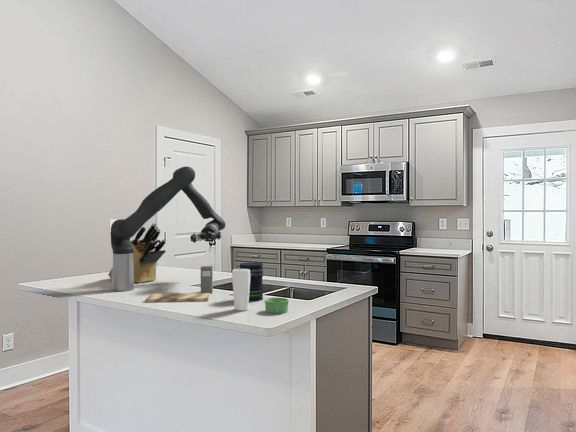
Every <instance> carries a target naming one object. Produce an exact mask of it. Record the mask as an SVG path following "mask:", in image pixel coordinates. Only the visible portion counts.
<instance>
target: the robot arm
mask: <svg viewBox="0 0 576 432" xmlns="http://www.w3.org/2000/svg"><path fill="white" fill-rule="evenodd" d="M195 171H196V170H194V168H193V167H191V166H181V167H180V168H177V169H175V170H174V172H173V174H172V178H171V179H170V180H168V181H167V182H165V183H163V184H161V185H160V186H158V187H157V188H155V189H154V190H153V191H152V192H151V193H149V194H148V195H147V196H145V198H144V199H143V200H142V201H141V203H140V205H139V206H138V208H137V209H136V210H135V211H134V212H133V213H132V214H130V215H129V216H127V217H126V218H125V219H124V218H123V219H122V218H121V219H116V220H115V221H113V223H112V224H111V226H110V245H111V249H112V267H113V270H112V279H111V291H112V292H113V291H115V292H125V291H133V290H134V287H135V285H134V284H135V282H134V249H133V247H132V245H131V243H130V241H131V238H133V237H134V236H135V235H137V233H138V232H139V230H140V229H141V228H142V227H144V225H145V223H147V222H148V221H149V220H151V218H153V217H154V216H155V215H156V214H157V213H158V212H160V211H161V210H163V208H164V207H166V206H167V205H168V204H169V202H170V201H171V200H173V199H174V198H175V196H176V195H177V194H178V193H180V192H181V191H182V192H183V193H184V194H185V196H186V197H187V198H188V199H189V200H190V201H191V203H192V205H193V206H194V207H195V208H196V211H197V212H198V213H199V214H200V216H201V218H202V219H203V220H209V219H212V220H210V221H208V222H207V223H206V224H205V226H204V227H203V228H202V229H201V231H200V233H197V234H196V233H193V234H192V235H190V236H189V237H190V241H191V242H192V243H194V244H195V243H197V242H201V241H205V242H206V243H207V242H208V243H210V242H214V241H216V240H221V238H222V232H221V231H222V230H224V229H225V228H226V222H225V220H224V219H223V218H222V217H221V216H220V215H218V213H216V211H214V209H213V207H212V205H211V204H210V203H209V202H208V200H207V199H206V198H205V197H204V196H203V195H202V194H201V193H200V192H198V190H197V189H196V188H195V187H194V186H193V184H192V183H193V182H194V181H195V179H196V178H195V177H196V172H195Z"/></svg>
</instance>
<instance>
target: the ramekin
mask: <svg viewBox="0 0 576 432" xmlns="http://www.w3.org/2000/svg"><path fill="white" fill-rule="evenodd" d="M289 302H290V300H289V299H288V298H285V297H269V298H265V299H264V303H265V304H264V305H265V312H266V313H268V312H269V313H268V314H273V313H280V314H284V312H285V313H287V312H288V309H289Z"/></svg>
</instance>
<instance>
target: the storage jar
mask: <svg viewBox="0 0 576 432" xmlns="http://www.w3.org/2000/svg"><path fill="white" fill-rule="evenodd" d="M263 265H264V264H263V263H262V262H241V263H239V269H250V291H249V301H254V302H260V300H261V301H263V300H264V298H263V297H264V285H263V277H264V270H263V269H264V267H263Z"/></svg>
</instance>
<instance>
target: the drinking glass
mask: <svg viewBox="0 0 576 432" xmlns="http://www.w3.org/2000/svg"><path fill="white" fill-rule="evenodd" d="M231 274H232V275H231V279H232V280H231V281H232V283H231V284H232V293H233V294H232V295H233V305H234V306H233V309H234V311H237V312H238V311H239V312H244V311H248V310H249V303H250V302H249V291H250V269H240V268H234V269H232V273H231Z"/></svg>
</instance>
